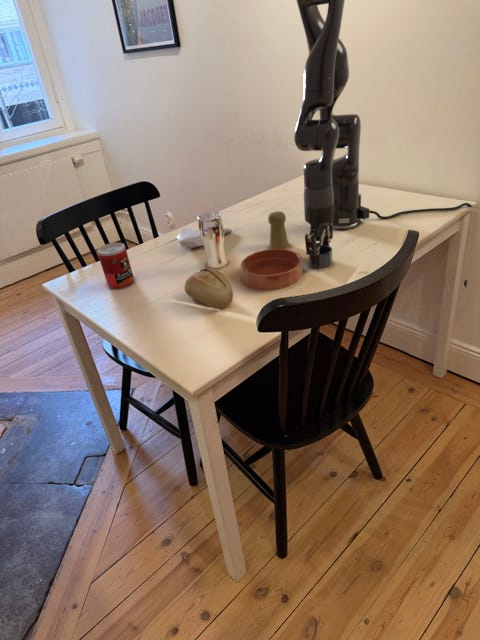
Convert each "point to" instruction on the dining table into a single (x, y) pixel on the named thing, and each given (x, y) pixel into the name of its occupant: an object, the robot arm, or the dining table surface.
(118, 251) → the canned food
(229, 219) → the dining table surface
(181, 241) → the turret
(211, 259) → the beer glass
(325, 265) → the bowl
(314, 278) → the dining table surface
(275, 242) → the cork
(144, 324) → the dining table surface
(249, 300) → the dining table surface
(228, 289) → the bread roll
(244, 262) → the serving bowl
